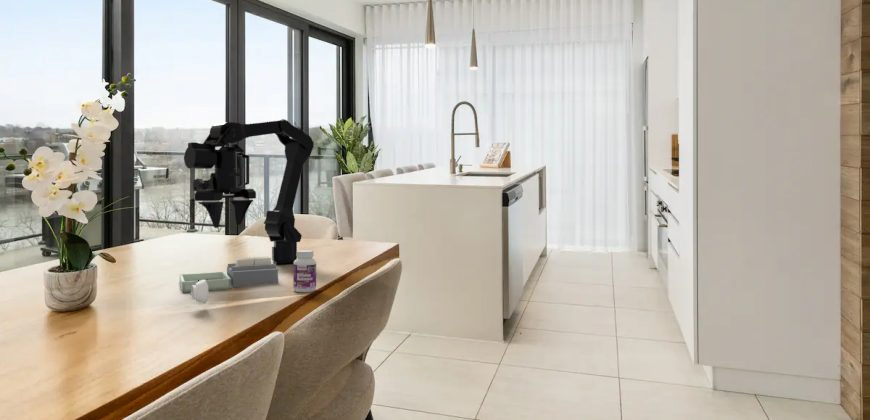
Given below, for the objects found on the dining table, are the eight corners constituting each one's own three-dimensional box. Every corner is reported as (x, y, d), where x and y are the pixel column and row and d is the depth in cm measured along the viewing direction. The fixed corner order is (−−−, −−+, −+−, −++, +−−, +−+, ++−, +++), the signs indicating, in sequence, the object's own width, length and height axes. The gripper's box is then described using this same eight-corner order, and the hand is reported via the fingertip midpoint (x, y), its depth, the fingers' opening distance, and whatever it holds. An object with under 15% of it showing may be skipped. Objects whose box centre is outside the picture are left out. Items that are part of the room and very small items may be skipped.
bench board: (269, 278, 155) (269, 260, 154) (278, 284, 144) (277, 265, 144) (227, 281, 150) (226, 262, 149) (233, 288, 139) (232, 268, 139)
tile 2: (268, 265, 150) (267, 256, 150) (270, 267, 147) (270, 258, 147) (252, 266, 149) (252, 257, 149) (255, 268, 145) (255, 258, 145)
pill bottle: (296, 293, 131) (296, 252, 131) (291, 289, 136) (290, 250, 136) (319, 291, 134) (318, 251, 134) (313, 288, 139) (312, 249, 138)
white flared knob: (209, 304, 119) (209, 281, 119) (194, 306, 117) (194, 282, 117) (204, 300, 123) (204, 278, 123) (190, 302, 121) (190, 279, 121)
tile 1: (251, 266, 148) (250, 257, 148) (253, 268, 145) (253, 258, 145) (235, 267, 147) (235, 258, 147) (237, 269, 143) (237, 259, 143)
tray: (224, 280, 150) (224, 271, 150) (231, 288, 138) (231, 278, 138) (179, 284, 145) (179, 274, 145) (182, 292, 133) (182, 282, 133)
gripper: (223, 170, 164) (225, 223, 164) (176, 169, 146) (178, 228, 147) (256, 169, 160) (258, 223, 161) (211, 168, 143) (214, 229, 143)
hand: (227, 226), depth 153 cm, fingers open, 9 cm apart
